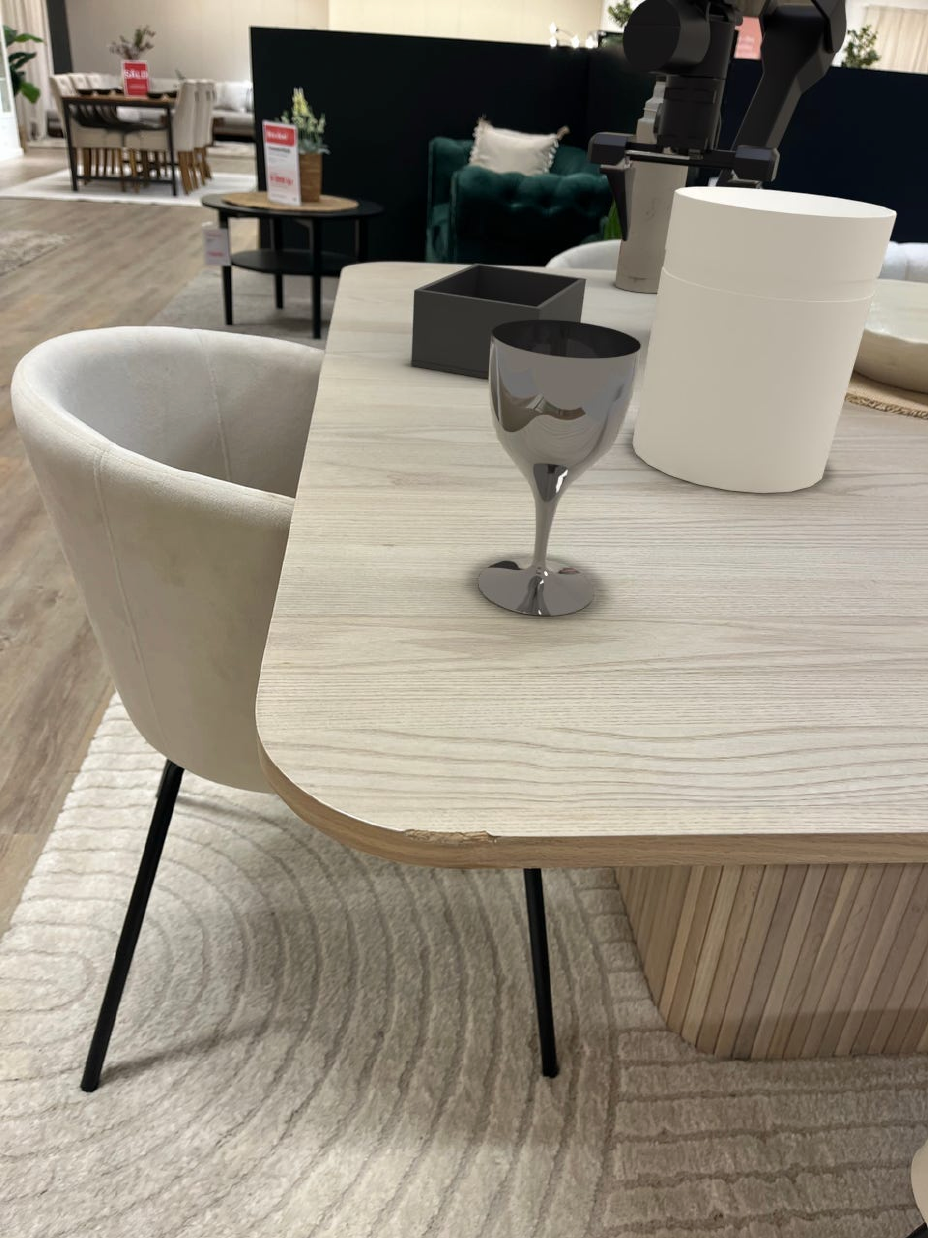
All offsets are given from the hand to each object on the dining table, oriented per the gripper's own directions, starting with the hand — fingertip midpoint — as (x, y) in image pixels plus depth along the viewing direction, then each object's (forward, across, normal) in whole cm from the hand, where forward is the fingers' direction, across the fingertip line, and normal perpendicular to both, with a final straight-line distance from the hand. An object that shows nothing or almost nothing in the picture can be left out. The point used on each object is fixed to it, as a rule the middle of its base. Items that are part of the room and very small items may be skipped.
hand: (667, 246), depth 99 cm
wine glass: (+12, -4, +58) cm, 59 cm away
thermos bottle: (+12, +9, -41) cm, 44 cm away
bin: (+12, +15, +9) cm, 21 cm away
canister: (+12, -12, +28) cm, 33 cm away
